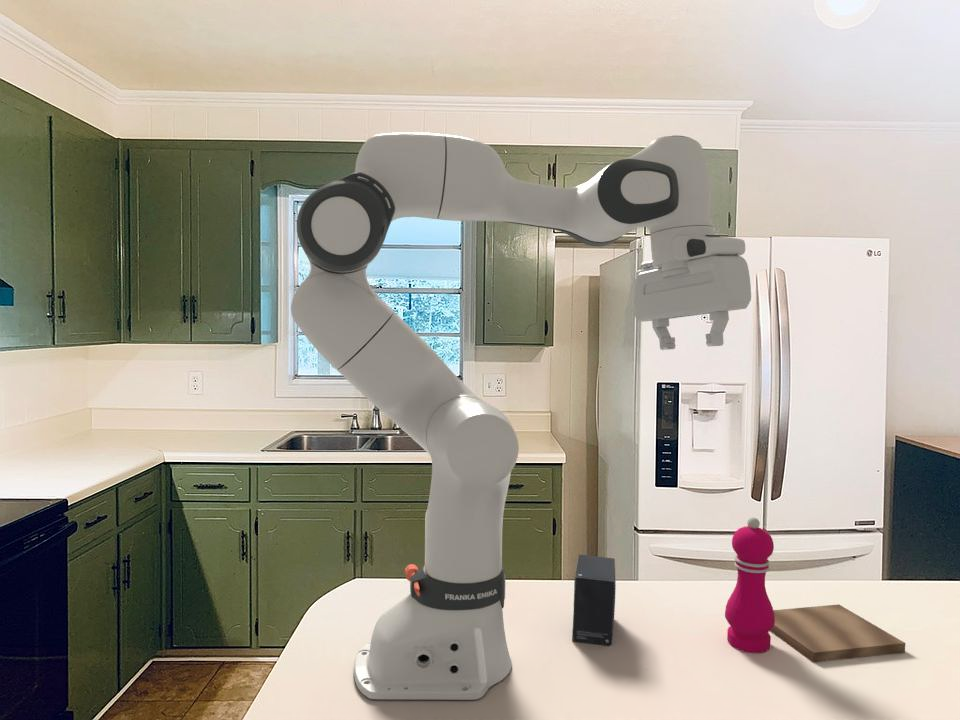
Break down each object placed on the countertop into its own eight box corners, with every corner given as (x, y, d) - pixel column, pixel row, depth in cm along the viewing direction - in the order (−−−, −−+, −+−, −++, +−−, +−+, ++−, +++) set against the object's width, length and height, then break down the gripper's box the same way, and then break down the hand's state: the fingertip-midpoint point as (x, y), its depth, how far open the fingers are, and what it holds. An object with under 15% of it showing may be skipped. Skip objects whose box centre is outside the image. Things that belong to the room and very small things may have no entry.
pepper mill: (775, 658, 102) (781, 527, 100) (724, 650, 104) (729, 521, 102) (771, 637, 108) (777, 513, 107) (723, 629, 111) (728, 508, 109)
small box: (614, 647, 104) (615, 580, 104) (571, 642, 106) (572, 576, 105) (614, 617, 115) (616, 556, 114) (575, 613, 116) (577, 553, 115)
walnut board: (812, 662, 101) (813, 652, 100) (755, 620, 114) (756, 611, 114) (904, 652, 104) (905, 643, 104) (838, 612, 118) (838, 604, 117)
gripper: (620, 264, 106) (627, 352, 106) (720, 238, 88) (728, 345, 88) (652, 263, 109) (658, 350, 109) (755, 238, 90) (763, 342, 90)
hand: (690, 348), depth 98 cm, fingers open, 8 cm apart
